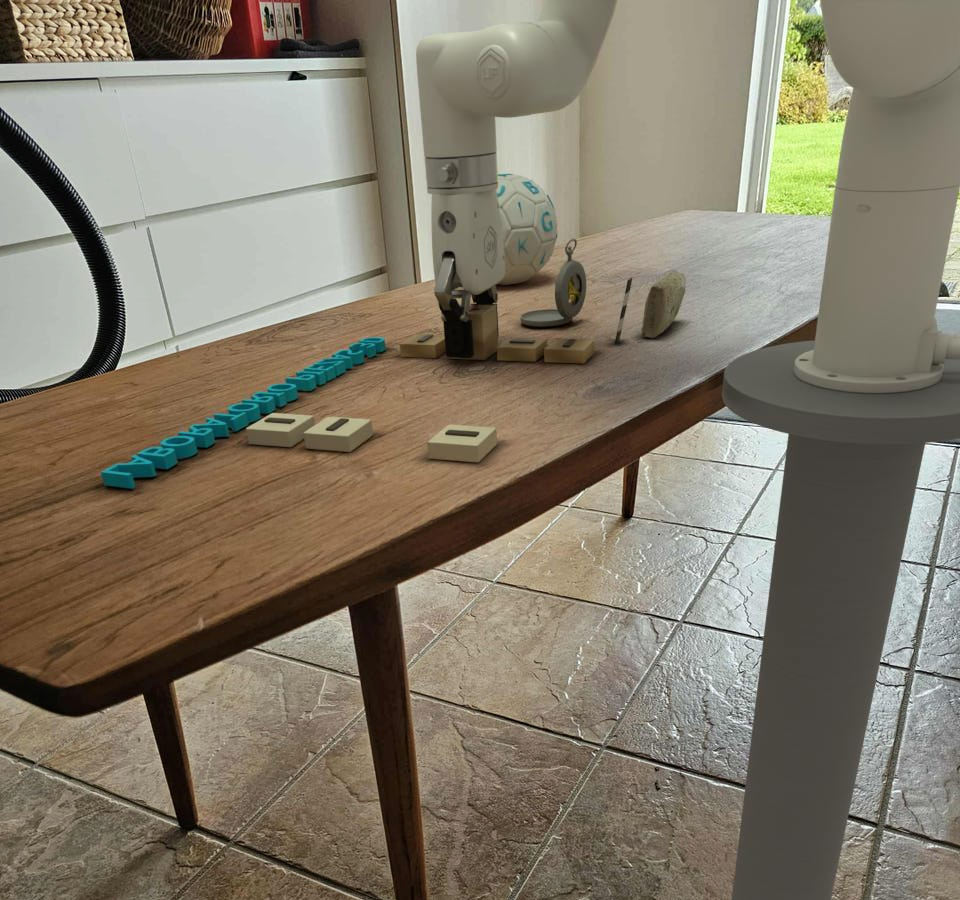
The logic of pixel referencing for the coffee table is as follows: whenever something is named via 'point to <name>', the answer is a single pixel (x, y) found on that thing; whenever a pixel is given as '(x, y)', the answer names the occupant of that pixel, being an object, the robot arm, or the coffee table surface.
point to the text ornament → (238, 415)
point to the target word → (366, 436)
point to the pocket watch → (562, 295)
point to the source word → (509, 349)
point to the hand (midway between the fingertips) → (473, 346)
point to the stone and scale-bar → (658, 304)
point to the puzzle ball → (525, 227)
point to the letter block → (483, 331)
